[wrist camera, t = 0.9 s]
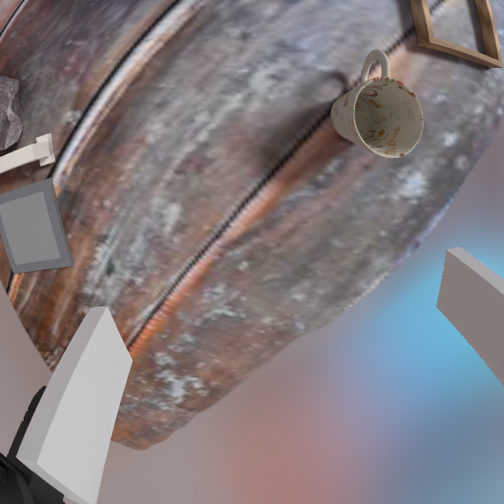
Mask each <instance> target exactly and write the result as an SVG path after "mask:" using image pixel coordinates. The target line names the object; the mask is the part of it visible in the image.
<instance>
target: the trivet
mask: <svg viewBox="0 0 504 504" xmlns="http://www.w3.org/2000/svg"><path fill="white" fill-rule="evenodd" d="M0 234H1V238H2V241H3V244H4V247H5V250H6V253H7V256H8V259H9V262H10V265H11V268H12V271H13V273H14V274H15V273H22V272H30V271H38V270H45V269H53V268H61V267H69V266H73V265H74V261H73V258H72V255H71V252H70V248H69V245H68V242H67V238H66V235H65V231H64V227H63V223H62V220H61V216H60V212H59V207H58V203H57V199H56V194H55V190H54V185H53V180H52V177H51V178H48V179H44V180H41V181H38V182H35V183H31V184H28V185H25V186H22V187H19V188H16V189H13V190H10V191H7V192H5V193H2V194H0Z"/></svg>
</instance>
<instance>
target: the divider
mask: <svg viewBox="0 0 504 504" xmlns="http://www.w3.org/2000/svg"><path fill="white" fill-rule="evenodd" d="M36 141H37V143H35V144H31V145H28V146H26V147H23V148H21V149H18V150H16V151H14V152H11V153H9V154H6V155H4V156H2V157H0V174H1V173H4V172H6V171H9V170H12V169H14V168H17V167H19V166H22V165H25V164H28V163H30V162H33V161H36V160H39V161H40V166H43V165H46V164H49V163H52V162H55V159H54V152H53V146H52V139H51V134H46V135H43V136H40V137H38V138H36Z"/></svg>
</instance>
